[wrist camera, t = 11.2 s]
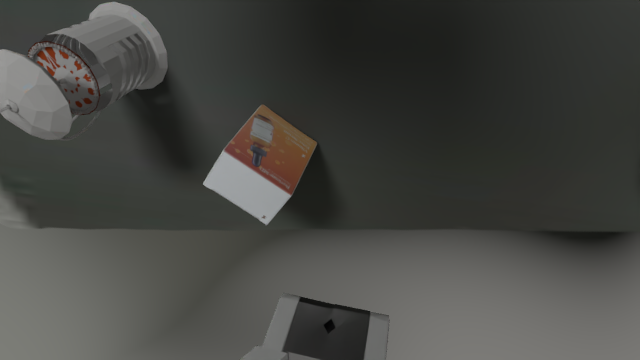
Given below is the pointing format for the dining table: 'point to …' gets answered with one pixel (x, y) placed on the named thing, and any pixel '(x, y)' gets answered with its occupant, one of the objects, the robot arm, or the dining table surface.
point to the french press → (80, 71)
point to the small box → (261, 164)
